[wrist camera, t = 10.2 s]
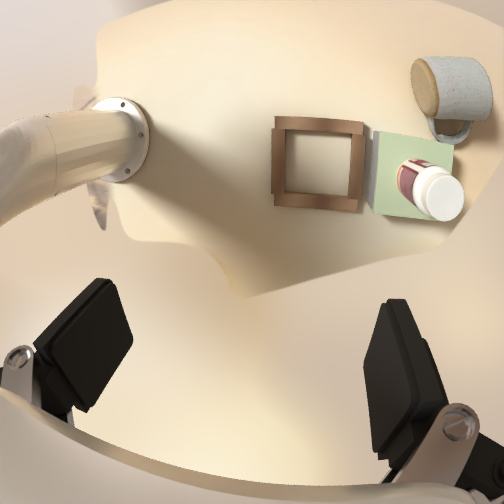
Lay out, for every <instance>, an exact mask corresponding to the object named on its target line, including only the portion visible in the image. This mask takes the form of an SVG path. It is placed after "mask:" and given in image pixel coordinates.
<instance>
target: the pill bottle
mask: <svg viewBox="0 0 504 504" xmlns="http://www.w3.org/2000/svg"><path fill="white" fill-rule="evenodd" d="M396 183H397V187H398V189H399V191H400V193H401V194H402V195H403V196H404V197H405V198H406V199H408V200H409V201H410V202H411V203H412V204H413V205H414V206H416V207H417V208H418V209H419V210H420V211H421V212H422V213H423V214H425V215H427V216H431V217H433V218H435V219H436V220H439V221H443V222H445V221H450V220H452V219H454V218H455V217H456V216H457V215H458V214H459V213H460V212H461V210H462V208H463V205H464V190H463V187H462V185H461V184H460V182H459V181H458V180H457V179H456V178H454V177H453V176H452V175H451V174H450V173H449V172H448V171H447V170H446V169H445V168H443V167H440V166H438V165H435V164H433V163H430V162H427V161H425V160H422V159H419V158H410V159H407V160H406V161H404V162H403V163H402V164H401V165H400V166H399V168H398V171H397V174H396Z"/></svg>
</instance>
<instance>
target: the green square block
mask: <svg viewBox="0 0 504 504" xmlns="http://www.w3.org/2000/svg"><path fill="white" fill-rule="evenodd" d="M453 154H454V145H450V144H446V143H442V142H437V141H433V140H428V139H423V138H418V137H412V136H407V135H401V134H395V133H388V132H382V131H373V150H372V165H371V177H370V188H369V197H368V204H369V206H370V207H371V209H372V212H373V213H374V214H381V215H390V216H399V217H408V218H416V219H425V220H432V221H439V220H436V219H435V218H433V217H431V216H427V215H425V214H423V213H422V212H421V211H420V210H419V209H418V208H417V207H416V206H414V205H413V204H412V203H411V202H410V201H409V200H408V199H406V198H405V197H404V196H403V195H402V194H401V193H400V191H399V189H398V187H397V183H396V174H397V171H398V168H399V166H400V165H401V164H402V163H403V162H404V161H406V160H407V159H410V158H419V159H422V160H425V161H427V162H430V163H433V164H435V165H438V166H440V167H443V168H445V169H446V170H447V171H448V172H449V173H450V174H451V172H452V164H453ZM440 222H443V221H440Z"/></svg>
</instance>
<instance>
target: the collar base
mask: <svg viewBox="0 0 504 504" xmlns="http://www.w3.org/2000/svg"><path fill="white" fill-rule="evenodd" d="M286 129H294V130H314V131H329V132H341V133H351V134H352V140H351V160H350V176H349V189H348V196H337V195H324V194H311V193H295V192H285V155H286ZM365 146H366V135H363V122H359V121H350V120H339V119H327V118H312V117H287V116H275V129H272V177H271V194H275V197H274V206H285V207H301V208H316V209H329V210H341V211H352V212H357V206H358V200H361V197H362V187H363V176H364V163H365Z"/></svg>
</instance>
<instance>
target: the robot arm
mask: <svg viewBox="0 0 504 504" xmlns="http://www.w3.org/2000/svg"><path fill="white" fill-rule="evenodd" d="M143 135H144V136H143ZM148 147H149V129H148V124H147V121H146V118H145V116H144V114H143V112H142V111H141V109H140V108H139V107H138V106H137V105H136V104H135V103H133V102H132V101H130V100H128V99H125V98H119V97H115V98H108V99H105V100H103V101H101V102H99V103H98V104H97V105H95V106H94V107H93V108H92V109H89V110H78V111H70V112H61V113H53V114H46V115H40V116H34V117H27V118H22V119H19V120H17V121H15V122H12V123H10V124H9V125H8V126H6V127H5V128H4V129H2V130H1V131H0V227H1V226H2V225H4V224H5V223H6V222H8V221H9V220H11V219H12V218H14V217H16V216H17V215H19V214H21V213H22V212H24V211H26V210H28V209H30V208H32V207H34V206H36V205H38V204H40V203H42V202H44V201H47V200H49V199H51V198H53V197H55V196H57V195H60V194H62V193H64V192H67V191H69V190H71V189H74V188H76V187H78V186H81V185H83V184H86V183H88V182H91V181H93V180H96V179H98V178H100V179H102V180H104V181H107V182H119V181H123V180H125V179H127V178H129V177H131V176H132V175H134V174H135V173H136V172H137V171H138V170H139V168H140V167H141V166H142V164H143V162H144V160H145V158H146V155H147V152H148ZM132 344H133V335H132V333H131V330H130V327H129V324H128V322H127V319H126V316H125V313H124V310H123V307H122V304H121V301H120V298H119V294H118V291H117V288H116V286H115V284H113V282H112V281H111V280H110V279H104V278H96V279H95V280H94V281H93V282H92V283H91V284H90V285H88V286H87V287H86V288H85V289H84V290H83V291H82V292H81V293H80V294H79V295H78V296H77V297H76V298H75V299H74V300H73V301H72V302H71V303H70V304H69V305H68V306H67V307H66V308H65V309H64V310H63V311H62V312H61V313H60V314H59V315H58V316H57V318H56V319H55V320H54V321H53V322H52V323H51V324H50V325H49V326H48V327H47V328H46V329H45V330H44V331H43V333H42V334H41V335H40V336H39V337H38V338H37V339H36V340H35V341H34V342H33V345H34V347H35V348H36V350H37V351H36V352H35V353H34V352H33V350H32V348H31V347H29V346H26V345H23V346H19V347H16V348H15V349H13V350H11V352H10V353H8V355H7V356H6V358H5V361H4V366H3V367H1V368H0V504H504V447H503V446H501V445H499V444H498V443H496V442H495V441H493V440H491V439H489V438H488V437H486V436H484V435H483V434H481V433H480V432H479V429H480V423H479V419H478V417H477V414H476V413H475V412H474V410H473V409H471V408H470V407H469V406H467V405H465V404H461V403H452V404H449V402H448V399H447V396H446V393H445V389H444V386H443V384H442V381H441V378H440V375H439V372H438V369H437V366H436V364H435V361H434V359H433V356H432V353H431V351H430V348H429V346H428V343H427V341H426V340H425V339H424V338H422V337H421V334H420V332H419V330H418V327H417V325H416V322H415V320H414V318H413V315H412V313H411V311H410V308H409V306H408V304H407V302H406V300H405V299H388V300H387V302H386V303H382V305H381V307H380V311H379V314H378V318H377V321H376V325H375V328H374V332H373V335H372V338H371V341H370V345H369V348H368V351H367V353H366V357H365V359H364V366H363V369H364V376H365V384H366V391H367V399H368V407H369V416H370V426H371V437H372V449H373V452H374V453H376V452H378V460H384V459H388V460H389V467H390V468H391V469H390V470H389V471H388V472H387V474H386V475H385V476H384V478H383V479H382V480H381V481H380V482H379V484H367V485H366V484H365V485H348V486H304V485H284V484H271V483H261V482H252V481H245V480H238V479H232V478H226V477H221V476H216V475H211V474H206V473H201V472H197V471H193V470H188V469H184V468H181V467H177V466H173V465H170V464H166V463H163V462H159V461H157V460H153V459H150V458H147V457H144V456H141V455H138V454H136V453H133V452H130V451H128V450H125V449H122V448H120V447H117V446H115V445H112V444H110V443H107V442H105V441H103V440H101V439H98V438H96V437H94V436H92V435H89V434H87V433H85V432H83V431H81V430H79V429H77V428H75V426H74V421H73V414H72V406H73V405H74V406H75V407H76V408H77V409H79V410H81V411H83V412H85V413H87V412H88V410H89V408H90V407H93V406H94V405H95V403H96V401H97V400H98V398H99V396H100V394H101V393H102V392H103V390H104V388H105V387H106V385H107V384H108V382H109V380H110V379H111V377H112V376H113V374H114V372H115V371H116V369H117V368H118V366H119V365H120V363H121V361H122V360H123V358H124V357H125V355H126V354H127V352H128V350H129V349H130V347H131V346H132Z"/></svg>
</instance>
